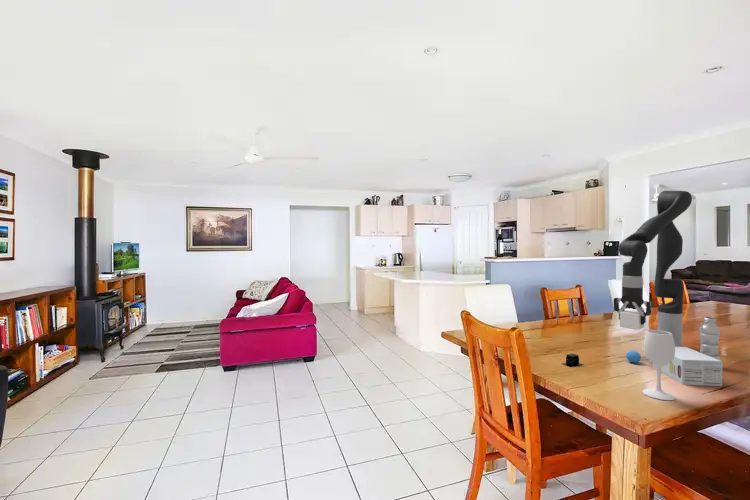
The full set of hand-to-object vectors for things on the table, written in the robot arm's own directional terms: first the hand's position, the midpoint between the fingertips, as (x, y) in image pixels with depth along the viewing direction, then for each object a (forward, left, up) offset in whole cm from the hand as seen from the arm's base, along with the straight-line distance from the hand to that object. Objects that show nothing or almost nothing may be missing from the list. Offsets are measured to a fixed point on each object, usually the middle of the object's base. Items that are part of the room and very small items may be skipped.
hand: (631, 322), depth 159 cm
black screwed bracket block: (+30, -12, -16) cm, 37 cm away
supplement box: (+12, +21, -16) cm, 28 cm away
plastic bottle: (-10, +24, -15) cm, 30 cm away
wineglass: (+40, +19, -15) cm, 47 cm away
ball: (+8, +3, -13) cm, 15 cm away
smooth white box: (0, 0, -2) cm, 2 cm away
